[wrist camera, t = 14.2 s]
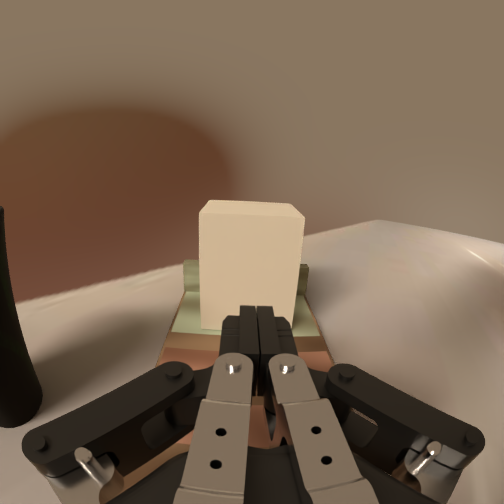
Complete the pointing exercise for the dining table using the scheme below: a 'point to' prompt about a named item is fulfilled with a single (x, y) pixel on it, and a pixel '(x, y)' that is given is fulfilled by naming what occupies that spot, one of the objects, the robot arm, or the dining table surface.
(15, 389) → the cup
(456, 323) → the dining table surface
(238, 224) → the block
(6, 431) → the dining table surface
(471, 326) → the dining table surface
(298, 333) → the track
